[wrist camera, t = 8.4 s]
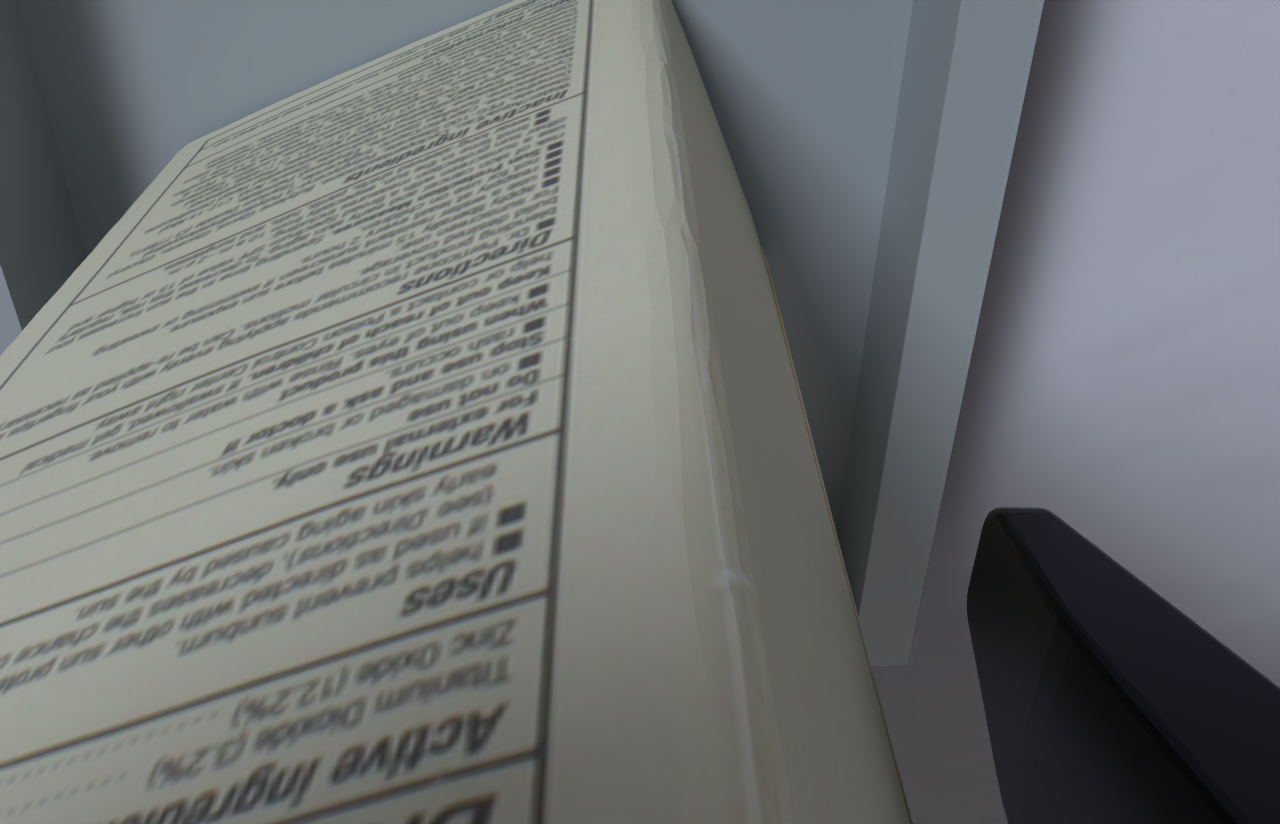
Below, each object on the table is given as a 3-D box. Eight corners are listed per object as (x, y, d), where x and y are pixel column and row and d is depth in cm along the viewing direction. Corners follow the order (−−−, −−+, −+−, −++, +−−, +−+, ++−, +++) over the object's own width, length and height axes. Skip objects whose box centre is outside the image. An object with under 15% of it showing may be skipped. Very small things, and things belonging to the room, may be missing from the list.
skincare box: (356, 413, 16) (-94, 1734, 6) (166, 126, 14) (-1079, 1499, 4) (790, 257, 15) (1136, 1601, 5) (661, -88, 12) (812, 1118, 2)
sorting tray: (1044, -440, 11) (1137, -454, 9) (875, 548, 18) (907, 666, 16) (-166, -464, 11) (-349, -484, 9) (135, 545, 18) (72, 664, 16)
